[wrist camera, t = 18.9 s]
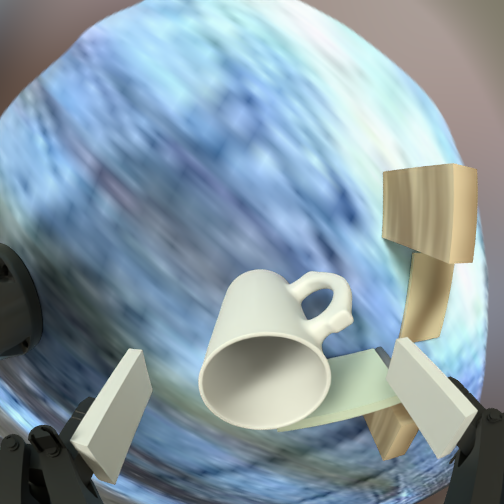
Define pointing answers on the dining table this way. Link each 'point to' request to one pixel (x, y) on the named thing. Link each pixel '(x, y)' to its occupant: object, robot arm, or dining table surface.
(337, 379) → the gate door
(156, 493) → the dining table surface
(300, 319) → the mug
